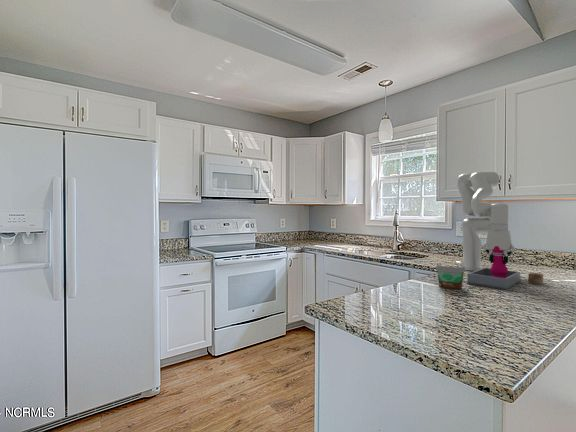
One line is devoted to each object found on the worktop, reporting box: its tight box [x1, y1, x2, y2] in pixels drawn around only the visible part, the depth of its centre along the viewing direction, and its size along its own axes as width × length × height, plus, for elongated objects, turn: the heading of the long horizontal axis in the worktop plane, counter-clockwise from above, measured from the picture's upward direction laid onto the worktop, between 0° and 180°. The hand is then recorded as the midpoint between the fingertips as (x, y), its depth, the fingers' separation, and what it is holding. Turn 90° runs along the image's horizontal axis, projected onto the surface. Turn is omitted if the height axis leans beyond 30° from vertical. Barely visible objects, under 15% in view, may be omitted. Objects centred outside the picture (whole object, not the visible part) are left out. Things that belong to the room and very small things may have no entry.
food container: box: [435, 264, 467, 291], centre depth 140 cm, size 12×6×10 cm, turn 62°
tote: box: [466, 267, 521, 291], centre depth 152 cm, size 16×26×5 cm, turn 132°
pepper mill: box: [490, 246, 509, 278], centre depth 156 cm, size 7×7×20 cm
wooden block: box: [527, 272, 544, 286], centre depth 152 cm, size 5×5×5 cm
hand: (498, 262), depth 156 cm, fingers closed on pepper mill, 4 cm apart
